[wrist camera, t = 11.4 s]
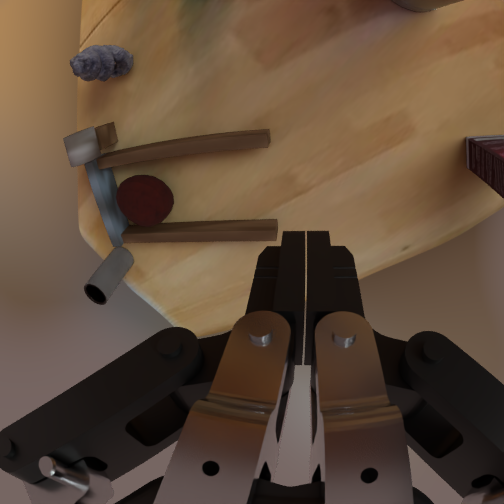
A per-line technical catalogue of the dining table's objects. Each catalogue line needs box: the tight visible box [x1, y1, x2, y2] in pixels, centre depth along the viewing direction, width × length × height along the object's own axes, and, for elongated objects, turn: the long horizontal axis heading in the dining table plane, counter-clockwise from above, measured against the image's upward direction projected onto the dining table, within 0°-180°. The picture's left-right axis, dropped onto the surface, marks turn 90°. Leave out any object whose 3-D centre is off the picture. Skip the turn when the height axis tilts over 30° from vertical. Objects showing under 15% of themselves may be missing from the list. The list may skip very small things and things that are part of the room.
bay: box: [64, 122, 278, 247], centre depth 34 cm, size 19×26×8 cm
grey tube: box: [84, 247, 134, 305], centre depth 45 cm, size 4×4×10 cm
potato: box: [116, 175, 174, 227], centre depth 37 cm, size 7×8×7 cm
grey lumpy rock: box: [70, 45, 133, 81], centre depth 25 cm, size 5×5×10 cm
